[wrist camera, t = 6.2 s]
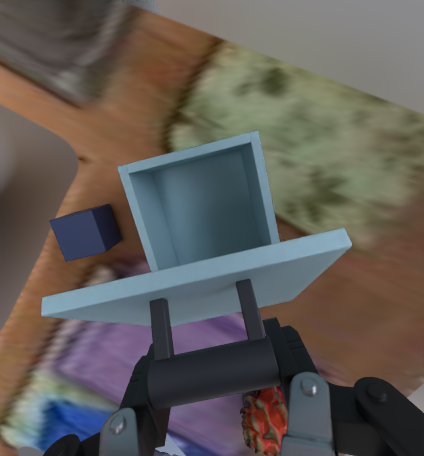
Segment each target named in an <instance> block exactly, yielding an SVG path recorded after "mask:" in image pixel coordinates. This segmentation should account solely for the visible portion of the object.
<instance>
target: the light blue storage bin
mask: <svg viewBox="0 0 424 456" xmlns="http://www.w3.org/2000/svg"><path fill="white" fill-rule="evenodd" d="M117 168H118V171H119V174H120V178H121V181H122V184H123V187H124V190H125V193H126V196H127V199H128V202H129V205H130V209H131V212H132V215H133V218H134V221H135V224H136V227H137V230H138V233H139V236H140V239H141V243H142V246H143V249H144V252H145V255H146V258H147V261H148V264H149V267H150V270H151V272H154V271H158V270H163V269H167V268H171V267H176V266H180V265H184V264H189V263H193V262H197V261H202V260H206V259H210V258H215V257H219V256H223V255H228V254H232V253H236V252H241V251H245V250H249V249H254V248H258V247H262V246H267V245H271V244H275V243H279V242H280V240H279V235H278V230H277V225H276V220H275V215H274V209H273V204H272V199H271V194H270V189H269V183H268V178H267V173H266V168H265V163H264V158H263V152H262V147H261V142H260V137H259V132H258V130H257V131H253V132H250V133H246V134H242V135H238V136H234V137H230V138H226V139H222V140H219V141H215V142H211V143H207V144H203V145H199V146H196V147H192V148H188V149H184V150H180V151H176V152H172V153H169V154H165V155H161V156H157V157H153V158H149V159H145V160H142V161H138V162H134V163H130V164H126V165H122V166H118V167H117Z"/></svg>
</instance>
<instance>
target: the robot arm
mask: <svg viewBox="0 0 424 456" xmlns="http://www.w3.org/2000/svg"><path fill="white" fill-rule="evenodd" d="M263 325H264V330H265V334H266V336H269V338H270V341H271V344H272V347H273V350H274V354H275V358H276V361H277V365H278V369H279V373H280V378H281V385H280V389H281V392H282V395H283V399H284V402H285V405H286V408H287V412H288V419H287V430H286V434H283V435H282V439H281V447H280V456H339V453H344V454H349V455H354V456H424V413H423V412H422V411H421V410H420V409H418V408H417V407H416V406H415V405H414V404H413V403H412V402H410V401H409V400H408V399H407V398H406V397H405V396H404V395H403V394H401V393H400V392H399V391H398V390H397V389H396V388H395V387H393V386H392V385H391V384H390V383H388V382H386V381H384V380H382V379H379V378H375V377H364V378H361V379H359V380H358V381H357V382H356V383H355V385H354V387H344V386H337V385H334V384H331V383H329V382H327V381H326V380H325V379H324V378H323V377H321V376H320V375H319V373H318V372H317V370H316V368H315V366H314V364H313V362H312V360H311V358H310V356H309V354H308V352H307V350H306V348H305V346H304V344H303V342H302V340H301V338H300V336H299V334H298V332H297V331H296V330H295V329H294V328H292V327H291V326H290V325H289V326H285V327H280V324H279V322H278V320H277V318H276V317H275V318H271V319H266V320H263ZM152 360H154V349H153V344H151V345H150V348H149V351H148V354H147V355H146V356H142V357H141V359H140V360H139V361H138V362H137V364H136V365H135V368H134V370H133V373H132V376H131V378H130V381H129V382H130V383H129V384H128V386H127V389H126V392H125V394H124V397H123V400H122V403H121V405H120V408H119V410H118V411H116V412H114V413H113V414H112V415H111V416H110V417H109V418H108V419H107V420H106V421H105V423H104V424H103V426H102V429H101V431H100V432H99V433H97V434H95V435H93V436H91V437H89V438H87V439H85V440H83V441H81V442H80V440H79V438H78V436H77V435H75V434H69V435H66V436H64V437H62V438H60V439H59V440H57V441H56V442H55V443H53V444H52V445H51V446H50V447H49V448H48V450H47V451H46V452H45V453H44V455H43V456H154V452H155V448H157V447H162V446H164V445H165V439H166V433H167V427H168V421H169V415H170V409H171V407H168V408H163V409H158V410H156V409H154V408H153V407H152V405H151V403H150V399H149V395H148V387H147V376H148V369H149V365H150V363H151V361H152Z"/></svg>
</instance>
